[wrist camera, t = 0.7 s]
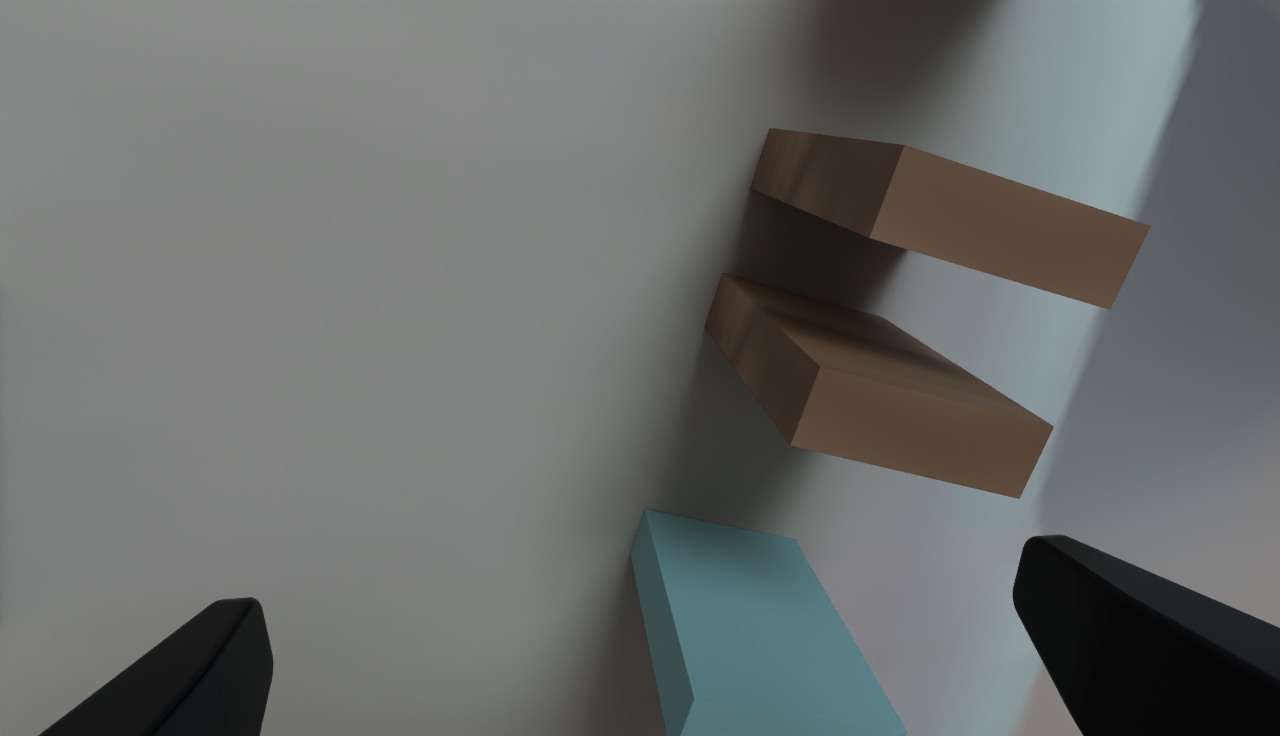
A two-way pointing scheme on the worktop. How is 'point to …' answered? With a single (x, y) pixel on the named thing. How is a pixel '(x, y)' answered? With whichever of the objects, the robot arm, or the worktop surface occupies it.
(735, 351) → the domino
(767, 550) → the teal domino
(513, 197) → the worktop surface
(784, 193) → the domino
